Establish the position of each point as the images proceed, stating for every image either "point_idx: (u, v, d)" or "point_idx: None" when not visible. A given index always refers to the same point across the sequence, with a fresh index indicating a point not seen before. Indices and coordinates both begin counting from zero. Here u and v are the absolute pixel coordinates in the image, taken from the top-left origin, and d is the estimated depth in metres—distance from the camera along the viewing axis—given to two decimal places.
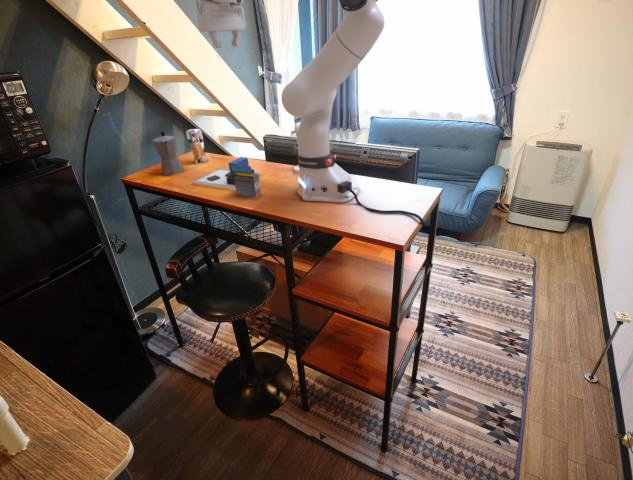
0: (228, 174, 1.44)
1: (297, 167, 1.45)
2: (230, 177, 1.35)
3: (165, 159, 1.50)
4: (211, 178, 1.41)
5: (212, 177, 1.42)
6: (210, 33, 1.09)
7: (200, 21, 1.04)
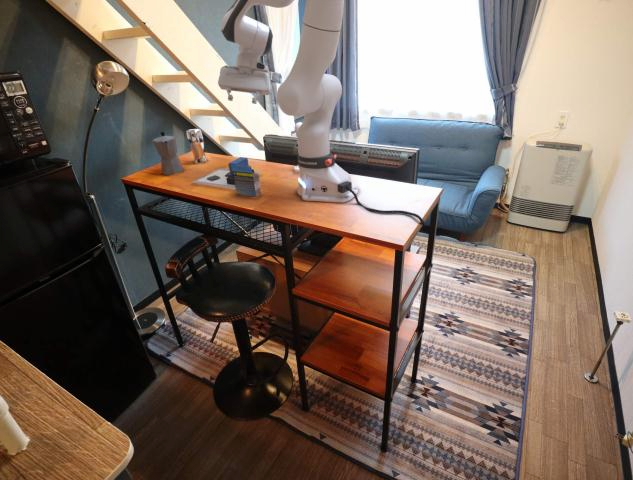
0: (228, 174, 1.44)
1: (297, 167, 1.45)
2: (230, 177, 1.35)
3: (165, 159, 1.50)
4: (211, 178, 1.41)
5: (212, 177, 1.42)
6: None
7: None
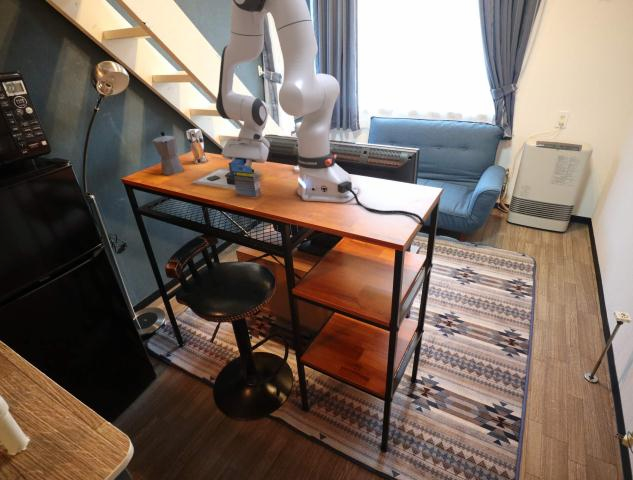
0: (228, 174, 1.44)
1: (297, 167, 1.45)
2: (230, 177, 1.35)
3: (165, 159, 1.50)
4: (211, 178, 1.41)
5: (212, 177, 1.42)
6: None
7: None
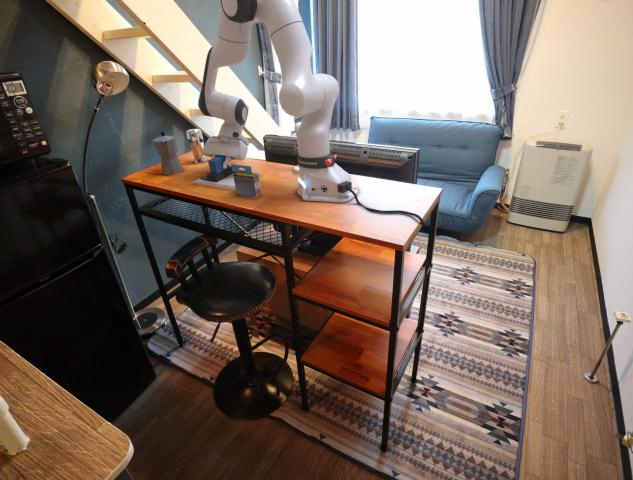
0: None
1: (297, 167, 1.45)
2: (210, 174, 1.40)
3: (165, 159, 1.50)
4: (205, 178, 1.42)
5: (205, 177, 1.43)
6: None
7: None
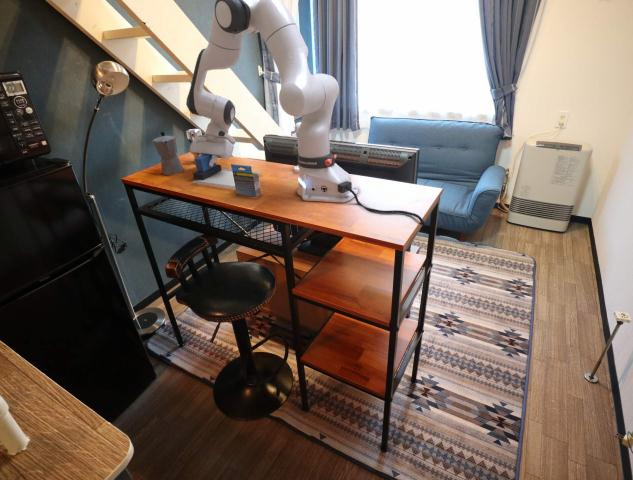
0: None
1: (297, 167, 1.45)
2: (196, 172, 1.42)
3: (165, 159, 1.50)
4: None
5: None
6: None
7: None
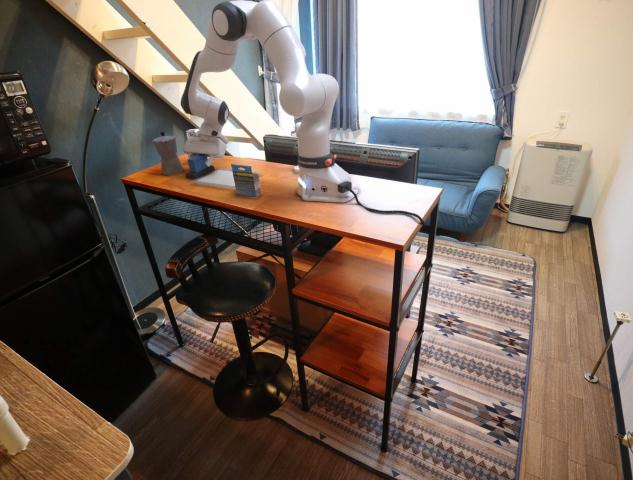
0: None
1: (297, 167, 1.45)
2: (189, 172, 1.44)
3: (165, 159, 1.50)
4: None
5: None
6: None
7: None
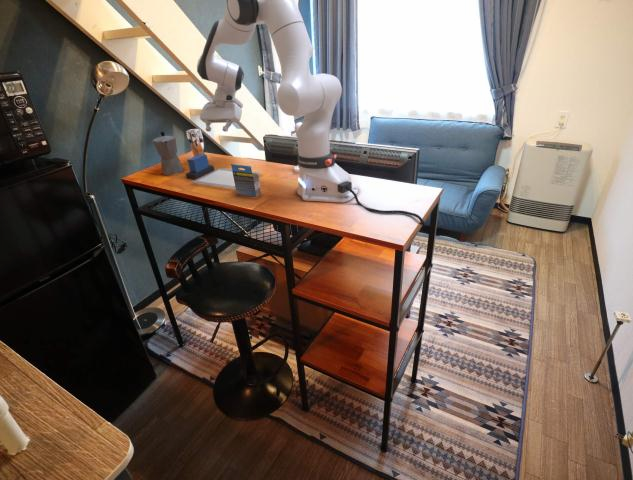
0: None
1: (297, 167, 1.45)
2: (189, 172, 1.44)
3: (165, 159, 1.50)
4: None
5: None
6: None
7: None
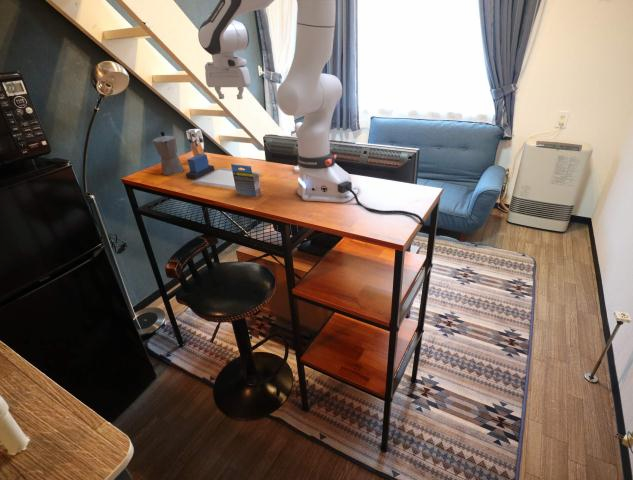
0: None
1: (297, 167, 1.45)
2: (189, 172, 1.44)
3: (165, 159, 1.50)
4: None
5: None
6: None
7: None
